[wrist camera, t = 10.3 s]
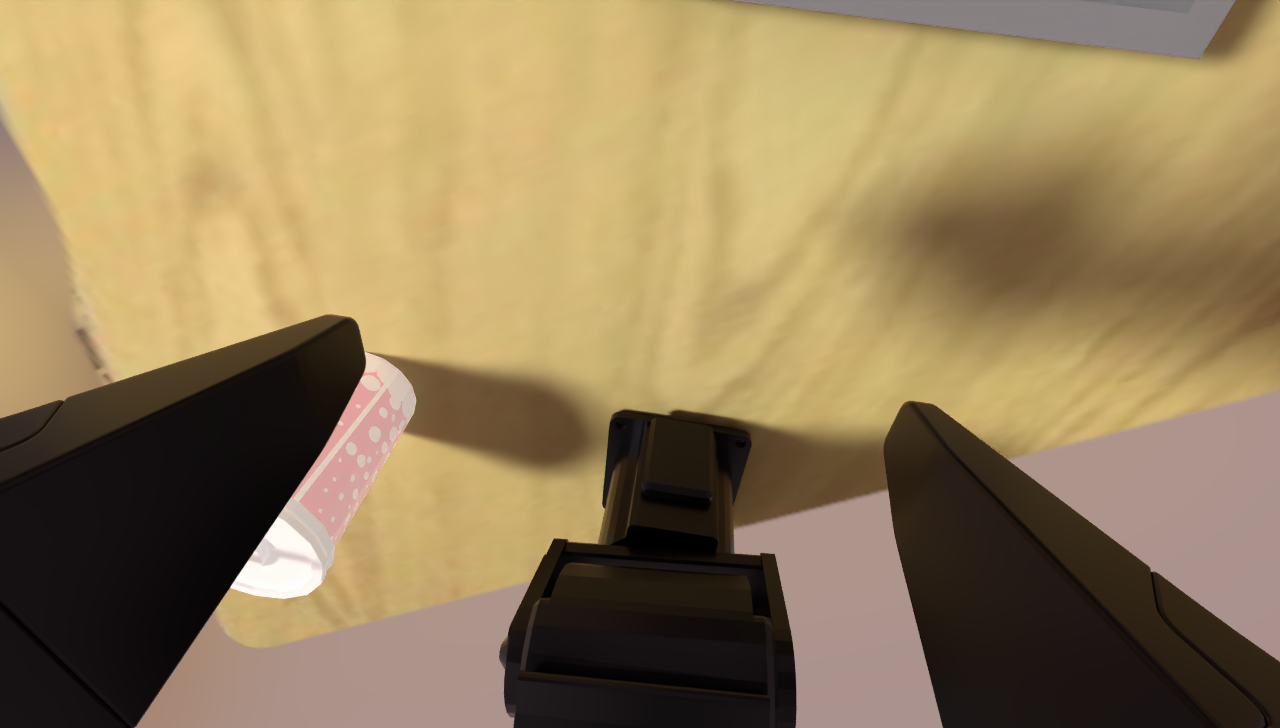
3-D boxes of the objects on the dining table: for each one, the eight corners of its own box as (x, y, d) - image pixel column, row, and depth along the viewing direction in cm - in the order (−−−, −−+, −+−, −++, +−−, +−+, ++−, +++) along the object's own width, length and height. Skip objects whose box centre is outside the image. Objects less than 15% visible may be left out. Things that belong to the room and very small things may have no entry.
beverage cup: (280, 370, 26) (-58, 670, 15) (359, 313, 24) (27, 620, 12) (377, 452, 29) (154, 763, 17) (458, 409, 26) (259, 736, 15)
